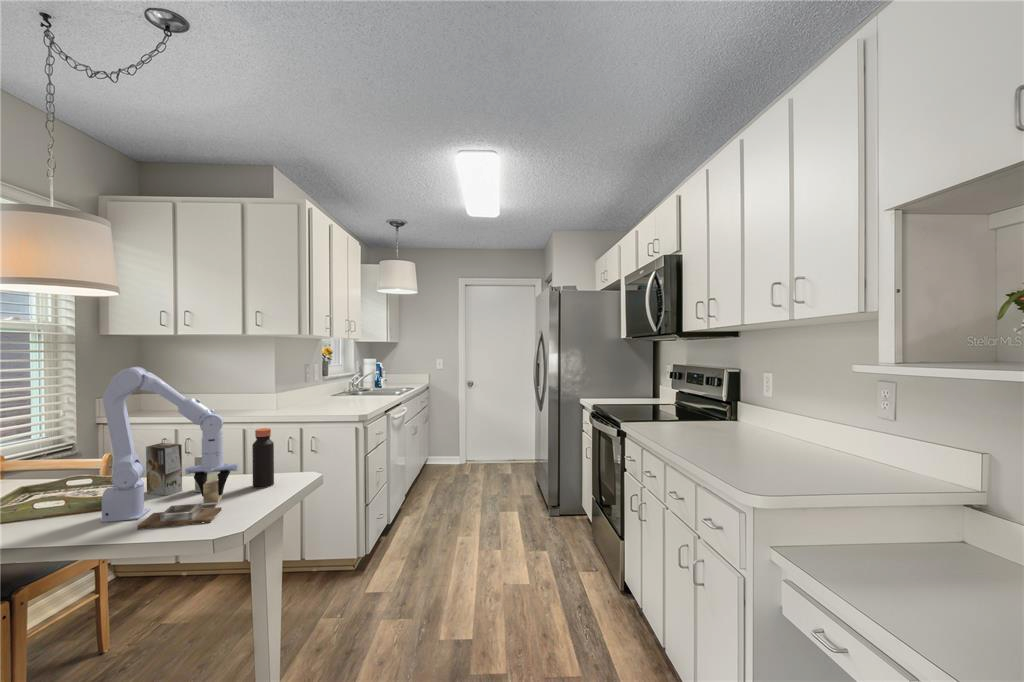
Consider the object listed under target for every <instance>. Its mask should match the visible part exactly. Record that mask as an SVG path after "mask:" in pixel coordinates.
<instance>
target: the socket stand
mask: <svg viewBox="0 0 1024 682" xmlns="http://www.w3.org/2000/svg"><path fill="white" fill-rule="evenodd" d="M220 511H222V507H219V506H218V507H207V508H206V507H205V508H203V503H202V502H201V503H190V504H189V503H186V504H179V505H178V504H177V505H175V504H174V505H171V506H169V507H168V508H167V509H165V511H162V512H161V511H160V512H159V511H158V512H153V513H151V514H150V515H149V516H148V517H146V519H143V520H142V521H141V522H140V523H139V524H138V526H137V529H138V530H141V528H144V529H153V528H152V527H156V528H163V527H162V526H167V527H173V526H172V525H178V526H185V525H184V524H189V525H193V524H192V523H200V524H203V523H202V522H211V521H212V520H213V519H214V520H215V518H216V517H217V516H218V515H219V514H220V513H221V512H220ZM219 512H220V513H219ZM218 513H219V514H218ZM217 514H218V515H217ZM216 515H217V516H216ZM215 516H216V517H215ZM214 517H215V518H214ZM214 520H213V521H214ZM213 521H212V522H213ZM212 522H211V523H212Z"/></svg>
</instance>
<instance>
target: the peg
mask: <svg viewBox="0 0 1024 682" xmlns="http://www.w3.org/2000/svg"><path fill="white" fill-rule="evenodd" d="M218 490H219V482H218V480H212V481H207V482H206V483H204V484H203V503H202V505H204V504H216V503H217V504H218V503H219V502H220V501H221V500H222V497H223V496H222V495H223V494H222V495H219V492H218Z"/></svg>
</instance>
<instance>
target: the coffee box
mask: <svg viewBox="0 0 1024 682" xmlns="http://www.w3.org/2000/svg"><path fill="white" fill-rule="evenodd" d="M182 448H183V447H182V444H178V443H168V442H167V443H166V442H161V443H154V444H151V445H148V446H145V458H146V459H145V462H146V463H145V464H146V465H145V466H146V467H145V468H146V469H145V471H146V474H145V475H146V494H147V495H148V494H149V495H158V496H164V497H165V496H170V495H172V494H176V493H178V492H181V491H182V492H183V461H182V460H183V455H182V451H183V450H182Z"/></svg>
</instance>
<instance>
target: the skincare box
mask: <svg viewBox="0 0 1024 682" xmlns="http://www.w3.org/2000/svg"><path fill="white" fill-rule="evenodd" d="M199 465H202V454H199V455H197V456H194V466H199ZM218 474H219V472H208V473H207V481H212V480H218ZM194 492H195V493H201V490H200V487H199V485H198V483H197V482H196V480H195V479H194Z"/></svg>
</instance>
